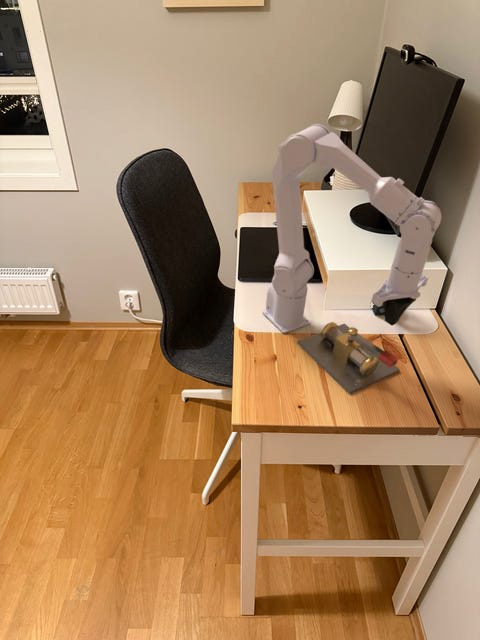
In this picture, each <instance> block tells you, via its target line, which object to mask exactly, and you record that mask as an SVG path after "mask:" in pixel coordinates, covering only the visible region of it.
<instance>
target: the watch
mask: <svg viewBox="0 0 480 640" xmlns="http://www.w3.org/2000/svg"><path fill="white" fill-rule="evenodd" d="M388 277H389V276H388ZM388 277H387V280H388ZM387 280H386V281H387ZM371 311H372V313H373V315H374V317H375V316H377V317H379V316H380V317H385V310H384V304H383V303H382V306H380V307H378V306H376V305H375V304H374V305H373V308H371Z"/></svg>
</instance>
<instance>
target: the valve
mask: <svg viewBox="0 0 480 640" xmlns="http://www.w3.org/2000/svg"><path fill="white" fill-rule="evenodd" d="M349 328H350V327H349V326H348V325H347V324H346V323H342V324H340V325H338V324H337V323H336V322H334V321H332V322H328V323H327V324H326V325H325V326H324V327H323V328H322V329H321V332H317V333H315V334H312V335H310V336H307V337H304V338H301V339H299V340H296V342H297V345H298V346H300V347H301V349H303V351H304V352H305V353H306V354H307V355H308V356H310V358H312V359H313V360H314V362H316V363H317V365H319V366H320V367H321V368H322V369H323V370H324V371H325V372H326V373H327V374H328V375H329V376H330V377H331V378H332V379H333V380H334V381H335V382H336V383H337V384H338V385H339V386H340V387H341V388H343V389H344V390H345V391H346V392H347V394H349V395H351V394H354V393H355V392H357V391H360V390H362V389H364V388H366V387H369V386H371V385H373V384H375V383H378V382H380V381H382V380H384V379H386V378H388V377H390V376H392V375H395V374H398V373H399V372H400V371H401V369H400V368H399V367H398V366H397V365H395V366H393V367H391V368H390V367H388V366H387V365H385V364H384V363H383V362H381V361H380V360H379V358H378V357H377V356H376V355H374V354H373V353H371V352H370V351H368V350H367V349H365V348H364V347H363V346H361V345H360V344H358V343H357V342H355V341H352V342H351V341H348V335H349V334H348V329H349Z"/></svg>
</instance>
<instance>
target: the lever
mask: <svg viewBox="0 0 480 640" xmlns="http://www.w3.org/2000/svg"><path fill="white" fill-rule="evenodd" d="M358 332H359V330H358V329H357V328H356V327H349V329H348V334H349V335H348V341H351V342H352V341H355V342H357V343H358V344H360V345H361V346H363V347H364V348H365V349H367V350H368V351H370V352H371V353H373V354H374V355H376V356H377V357H378V358H379V360H380V361H381V362H383V363H384V364H385V365H387V366H388V367H390V368H391V367H393V366H397V364H398V360H399V358H398V357H397V356H395V355H394V354H392V353H391V352H389V351H388V350H383V349H381V348H380V347H379V346H377V345H376V344H374V343H372V342H371V341H370V340H369V339H367V338H365V337H364V336H362V335H361V334H359V333H358Z"/></svg>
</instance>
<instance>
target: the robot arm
mask: <svg viewBox="0 0 480 640" xmlns="http://www.w3.org/2000/svg"><path fill="white" fill-rule="evenodd" d="M313 164H314V165H313ZM311 165H313V169H314V170H323V169H333V170H335V171H337V172H339V173H340V174H341V175H343V176H344V177H345V178H347V179H348V180H349V181H351V182H353V184H355V185H356V186H358V187H359V188H361V189H362V190H364V191H365V192H366V193H368V197H369V203H370V204H371V206H373V207H374V208H375V209H377V210H378V211H379V212H381V213H382V214H383V215H384V216H386V217H387V218H388V219H389V220H391V222H393V223H394V224H395V225H397V226H399V232H400V234H401V235H400V236H401V237H400V240H398V242H397V245H396V246H397V247H396V249H395V254H394V257H393V261H392V263H391V267H390V270H389V271H390V274H389V277H388V280H387V281H386V282H385V283H384V284H383V286H382V287H381V288H380V287H379V289H378V290H377V292H375V293H373V294H372V297H371V301H370V303H371V302H372V303H373V304H375V305H376V306H378V307H380V306H382V303H383V304H384V310H385V316H384V322H385V323H387V324H389V325H390V326H394V325H396V324H397V323H398V322H399V321H400V319H401V317H402V316H403V314H404V313H405V312H406V310H407V309H408V308H409V307H410V306H411V305H412V304H413V303H414V302H416V301H417V299H418V298H420V297H421V293H420V292H419V290H420V289H421V287H426V285H427V283H428V280H429V277H428V276H426V275H424V274H423V272H424V268H425V266H426V262H427V260H428V257H429V254H430V251H431V245H432V243H433V237H434V236H435V233H436V231H437V229H438V227H439V226H440V224H441V221H442V216H443V215H442V212H441V209H440V208H439V207H438V205H437V204H436V203H435V202H434V201H433V200H425V199H424V198H423V197H422V196H420V197H418V196H417V195H415V194H414V193H413V192H411V191H410V189H408V188H407V187H405V186H404V184H405V181H404V180H402V179H401V178H397V180H396V178H394V177H393V176H385V177H382V176H380V175H379V174H378V173H377V172H376V171H375V170H374V169H373V168H371V166H369V165H368V164H367V163H366V162H365V161H364V160H362V158H360V157H359V156H358V155H357V154H356V153H355V152H354V151H352V149H350V148H349V147H348V146H347V145H346V144H345V143H344V142H343V141H342V139H341V138H340V137H339V136H338V134H336V133H334V132H333V131H330V129H328V127H326V126H324V124H321V123H320V124H319V123H315V124H311V125H309V126H308V127H306V128H305V129H302V130H301V131H299V132H297V133H294V134H293V133H292V134H291V135H289V136H288V137H287V138H286V139H285V140H284V141H283V142H282V143H281V144H279V146H278V154H277V156H276V160H275V161H274V165H273V167H272V168H271V169H272V170H271V176H272V179H271V180H272V188H273V199H274V208H275V209H274V210H275V211H274V212H275V220H276V221H275V222H276V232H277V240H278V242H277V243H278V252H279V253H278V256H277V259H276V260H275V264H274V266H273V269H274V273H273V277H272V278H271V283H270V284H269V286H268V288H267V291H266V301H265V309H264V310H262V312H261V313H262V314H263V315H264V316H265V317H266V318H267V319H268V320H269V321H270V322H271V323H272V324H273V325H274V326H275V327H276V328H277V329H278V330H280V332H281V333H283V334H285V333H289V332H291V331H295V330H297V329H300V328H303V327H305V326H309V325H310V324H311V321H310V320H309V319H307V318H306V316H305V315H304V313H305V307H306V303H307V302H306V301H307V295H308V281H309V280H310V279H311V278H313V276H314V272H315V269H314V268H315V267H314V265H313V262H312V261H311V258H310V253H309V251H308V250H307V249H305V245H304V244H305V241H304V231H303V230H304V229H303V215H302V213H303V211H302V200H301V199H302V197H301V196H302V195H301V185H300V184H301V183H300V177H301V176H302V175H303V174H304V173H305V172H306V171H307V170H308V169H309V168H310V166H311Z"/></svg>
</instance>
